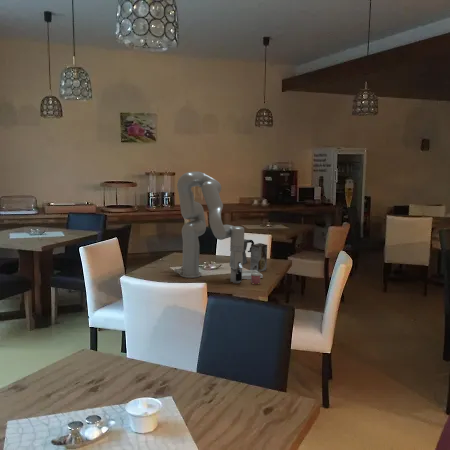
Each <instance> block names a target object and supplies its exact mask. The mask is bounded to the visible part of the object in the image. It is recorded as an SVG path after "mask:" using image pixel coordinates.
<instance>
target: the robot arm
mask: <svg viewBox="0 0 450 450" xmlns="http://www.w3.org/2000/svg"><path fill="white" fill-rule="evenodd" d="M176 186H177V187H176V188H177V193H178V198H179V199H178V201H179V206H180V213H181V216H182V218H183V219H184V220H190V221H188V222H186V223H184V224H183V225H182V228H181V237H182V266H181V267H180V268H174V269H173V271H174V273H177V274H178V273H179V276H180V277H182V278H187V279H188V278H189V279H194V278H195V279H196V278H199V277H201V276H202V272H200V270H199V269H200V241H199V237H201V236H202V235H204V234H205V232H206V230H207V223H206V215H205V210H204V206H203V205H202V204H201V203H200V202H198V201H195V195H194V192H193V189H192V188H193V187H199V188H200V189H201V192H202V195H203V198H204V201H205V204H206V206H207V209H208V222H209V226H210V229H211V232H212V234H213V235H214V237H215V238H216V240H220V241H222V240H226V239H229V238H230V241H229V242H230V245H229V246H230V249H229V251H230V256H229V267H230V270H231V269H234V270H235V269H236V272H237V274H236V281H241V282H242V281H243V280H242V270H243V265H244V264H243V254H242V252H244V239H245V227H243V226H239V225H235V226H234V225H232V224H224V223H223V220H222V210H223V207H224V203H223V201H222V199H221V195H220V193H221V192H222V185H221V183H220V182H219V180H217V179H215V178H213V177H212V176H210V175H207V173H204V172H201V171H188V172H185V173H183V174H182V175H180V177H179V178H178V180H177V183H176Z"/></svg>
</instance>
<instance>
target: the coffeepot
mask: <svg viewBox="0 0 450 450" xmlns="http://www.w3.org/2000/svg"><path fill="white" fill-rule="evenodd" d="M248 244H250V247H249V250H247V248H248ZM254 244H255V242H254V240H253V239H245V238H244V252H242V254H243V265H246V264H247V263H248V260H247V253H251V245H254ZM246 251H247V253H246Z"/></svg>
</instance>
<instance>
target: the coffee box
mask: <svg viewBox="0 0 450 450" xmlns="http://www.w3.org/2000/svg"><path fill="white" fill-rule="evenodd" d="M250 247H251V252H250V260H249V261H250V266H249V267H250V268H249V270H257V271H258V272H259V273H261V272H265V271H267V266H268V265H267V261H268V244H266V243H258V242H257V243H254V245H251V244H250Z"/></svg>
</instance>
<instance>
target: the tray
mask: <svg viewBox="0 0 450 450" xmlns="http://www.w3.org/2000/svg"><path fill="white" fill-rule="evenodd" d="M252 272H258V271H257V270H250V269H248V270H247V269H246V270H245V269H244V270H243V269H242V279H247V280H251V273H252ZM260 278H264V276H263V274H262V273H261V275H260Z"/></svg>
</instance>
